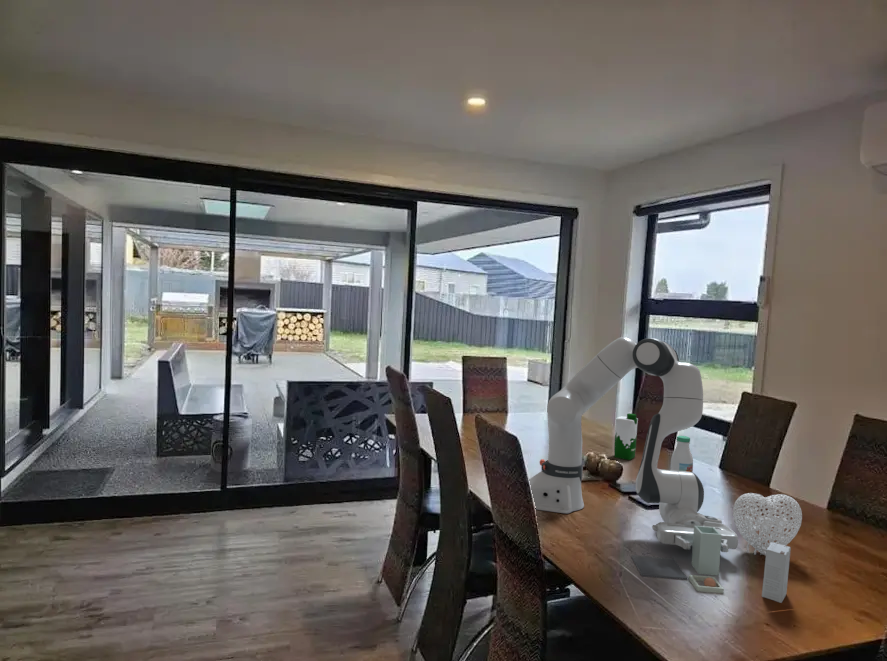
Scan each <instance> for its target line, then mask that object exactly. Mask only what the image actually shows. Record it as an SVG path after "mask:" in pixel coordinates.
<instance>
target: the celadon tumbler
mask: <svg viewBox="0 0 887 661" xmlns="http://www.w3.org/2000/svg"><path fill="white" fill-rule="evenodd" d="M691 550H692V553H691V566H692V567H693V569H694V570H695V571H696V572H697V574H698V575H699V574H700V575H707V576H708V575H709V576H710V575H711V576H720V563H721V562H720V561H721V551H720V550H721V534H720V533H719V532H718V531H717V530H716V529H715V528H714V527H706V526H694V534H693V546H692V549H691Z"/></svg>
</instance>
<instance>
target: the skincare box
mask: <svg viewBox="0 0 887 661" xmlns="http://www.w3.org/2000/svg"><path fill="white" fill-rule="evenodd" d="M791 550H792V549H791V546H788V545H786V546H785V545H781V544H778V543H772V542H771V544H770V545H769V547H768V548H767V550H766V556H765V559H764V560H765V561H764V570H763V580H762V587H761V588H762V589H761V590H762V591H761V597H762V598H766V599H768V600H772V601H774V602H777V603H781V604H782V603H783V601H784V599H785V598H786V596H787V592H788V591H787V590H788V579H789V569H790V560H791V559H790V558H791Z"/></svg>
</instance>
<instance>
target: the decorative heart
mask: <svg viewBox="0 0 887 661" xmlns="http://www.w3.org/2000/svg"><path fill="white" fill-rule="evenodd" d="M732 509H733V510H732V516H733V517H732V518H733V521H734V525H735V527H736V529H737V531H738V532H739V534H740V536H742V538H743V539H744V540H745V541H746V542H747V544H746V553H747V554H749V553H750V546H751V547H753V555H754V556H755V555H757V551H758V552H759V553H760V554H759V555H760V556H761V555H764V556H765V557H766V550H767V548H768V547H769V545H770V544H771V542H772V543H777V544H781V545H785V546H788V544H790V543H791V541H792V540H793V539H794V538H795V537H796V536H797V535H798V532H799V531H800V528H801V526H802V522H803V521H802V520H803V513H802V512H803V511H802V508H801V506H800V504H799V502H797V500H795V499H794V498H793V497H791V496H789V495H787V494H783V493H781V494H779V493H778V494H771V495H769V496H765V497H764V496H763V495H762V494H760V493H753V492H748V493H744V494H741V495H740V496H738V498H737V499H736V500H735V502H734V504H733V508H732ZM766 509H767V510H766ZM762 514H763V515H762ZM758 531H759V533H758Z"/></svg>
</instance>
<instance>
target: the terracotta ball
mask: <svg viewBox="0 0 887 661" xmlns="http://www.w3.org/2000/svg"><path fill="white" fill-rule="evenodd" d="M703 586H710V587H716V583H715V581H714V580H713V579H712V578H706V579H705V580H704V581H703Z"/></svg>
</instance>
